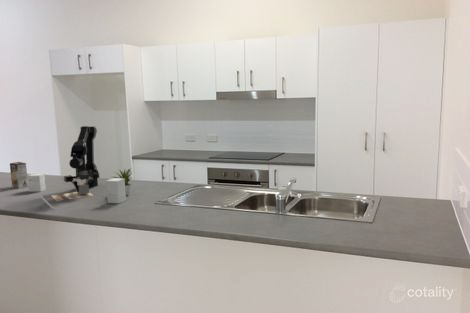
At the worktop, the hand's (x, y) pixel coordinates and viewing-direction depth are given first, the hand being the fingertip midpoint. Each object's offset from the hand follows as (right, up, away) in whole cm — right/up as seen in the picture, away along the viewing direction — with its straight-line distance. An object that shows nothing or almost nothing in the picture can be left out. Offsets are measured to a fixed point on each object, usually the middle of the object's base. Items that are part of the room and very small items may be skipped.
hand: (82, 191), depth 230 cm
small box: (-34, -1, +15) cm, 37 cm away
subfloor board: (-5, -3, -3) cm, 7 cm away
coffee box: (-52, 0, +26) cm, 58 cm away
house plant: (+25, -2, +2) cm, 25 cm away
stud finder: (0, -1, 0) cm, 1 cm away
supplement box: (+25, -5, -15) cm, 29 cm away
